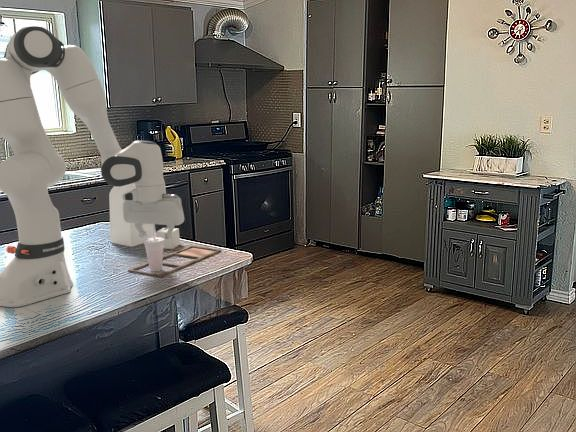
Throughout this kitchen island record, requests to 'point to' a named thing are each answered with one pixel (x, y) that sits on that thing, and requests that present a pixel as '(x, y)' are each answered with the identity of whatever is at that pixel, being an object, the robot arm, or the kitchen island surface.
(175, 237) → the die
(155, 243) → the smoothie
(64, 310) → the kitchen island surface
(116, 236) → the milk
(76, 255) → the kitchen island surface
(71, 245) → the kitchen island surface
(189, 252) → the board
